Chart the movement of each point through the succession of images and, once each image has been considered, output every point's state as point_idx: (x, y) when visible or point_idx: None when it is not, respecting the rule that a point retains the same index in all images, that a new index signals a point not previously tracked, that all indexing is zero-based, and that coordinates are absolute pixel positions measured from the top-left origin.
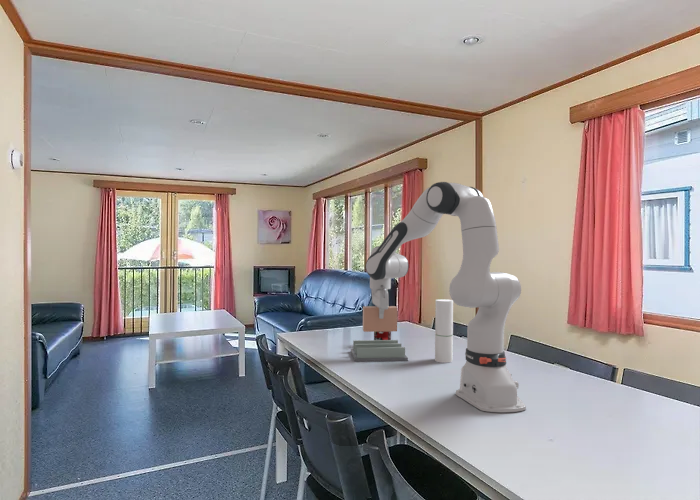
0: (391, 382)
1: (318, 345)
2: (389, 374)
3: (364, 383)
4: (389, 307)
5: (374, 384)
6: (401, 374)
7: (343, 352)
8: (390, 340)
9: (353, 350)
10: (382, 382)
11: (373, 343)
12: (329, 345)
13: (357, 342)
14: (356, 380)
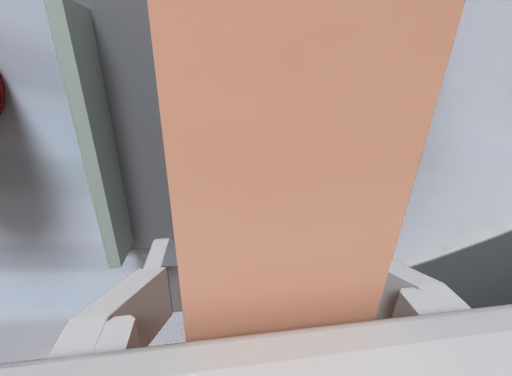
0: (508, 149)
1: (24, 346)
2: (440, 141)
3: (481, 220)
4: (392, 216)
5: (499, 197)
6: (455, 99)
7: (135, 267)
8: (74, 58)
9: (143, 241)
10: (496, 175)
11: (106, 166)
12: (13, 315)
13: (120, 245)
14: (452, 237)
